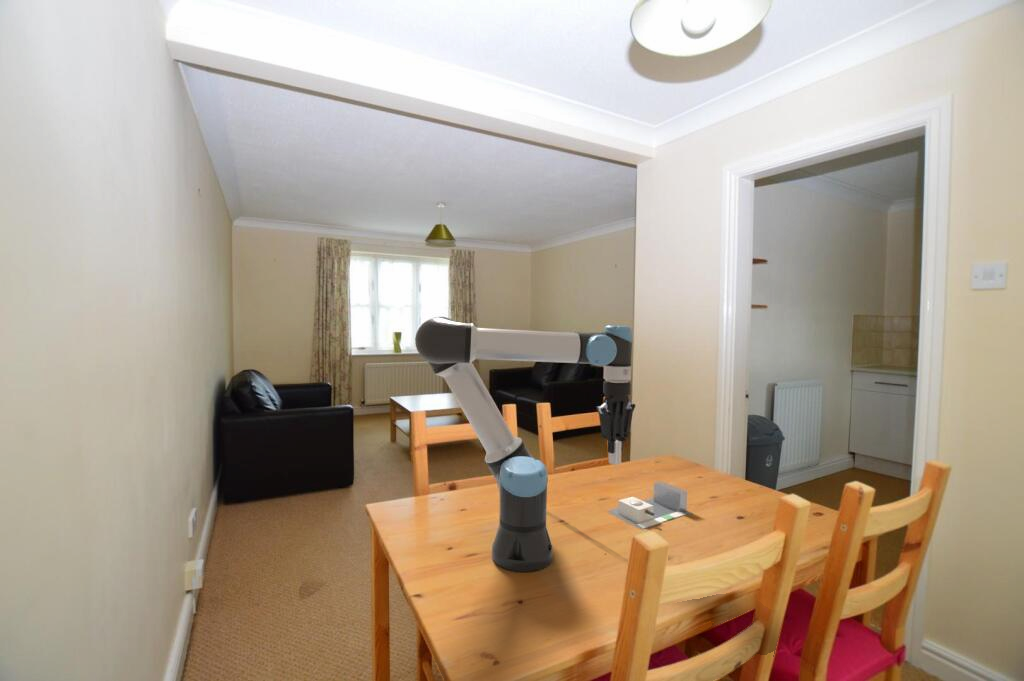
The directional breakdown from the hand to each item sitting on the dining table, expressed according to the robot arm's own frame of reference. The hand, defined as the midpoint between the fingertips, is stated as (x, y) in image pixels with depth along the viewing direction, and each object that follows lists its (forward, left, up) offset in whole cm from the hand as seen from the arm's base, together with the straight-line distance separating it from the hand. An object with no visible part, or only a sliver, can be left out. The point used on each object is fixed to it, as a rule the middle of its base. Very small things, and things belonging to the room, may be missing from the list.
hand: (614, 463), depth 132 cm
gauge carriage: (+9, -1, -17) cm, 19 cm away
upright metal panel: (+24, 0, -17) cm, 30 cm away
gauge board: (+15, 0, -18) cm, 24 cm away
